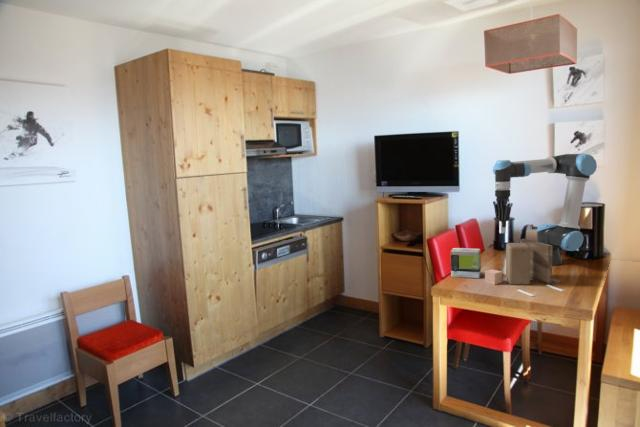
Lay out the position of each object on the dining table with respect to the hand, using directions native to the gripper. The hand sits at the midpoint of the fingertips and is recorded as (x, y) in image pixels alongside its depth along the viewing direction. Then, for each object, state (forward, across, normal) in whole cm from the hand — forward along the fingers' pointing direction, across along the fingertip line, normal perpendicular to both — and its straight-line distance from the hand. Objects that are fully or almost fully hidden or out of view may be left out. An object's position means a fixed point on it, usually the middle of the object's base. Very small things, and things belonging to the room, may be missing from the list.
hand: (502, 232), depth 241 cm
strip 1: (+24, +28, -9) cm, 38 cm away
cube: (+24, +7, -11) cm, 28 cm away
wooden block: (+24, +12, 0) cm, 27 cm away
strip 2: (+24, +28, +9) cm, 38 cm away
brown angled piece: (+24, +12, +14) cm, 30 cm away
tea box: (+25, -10, -16) cm, 31 cm away
